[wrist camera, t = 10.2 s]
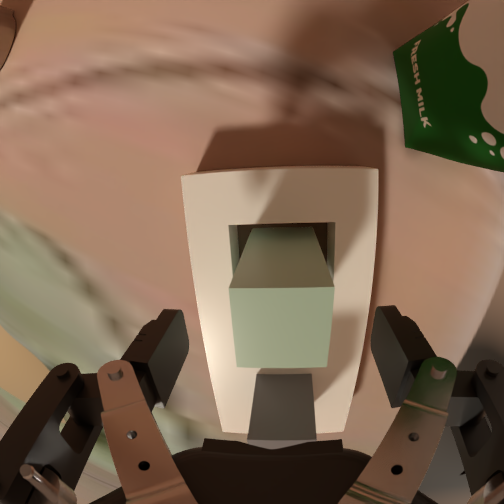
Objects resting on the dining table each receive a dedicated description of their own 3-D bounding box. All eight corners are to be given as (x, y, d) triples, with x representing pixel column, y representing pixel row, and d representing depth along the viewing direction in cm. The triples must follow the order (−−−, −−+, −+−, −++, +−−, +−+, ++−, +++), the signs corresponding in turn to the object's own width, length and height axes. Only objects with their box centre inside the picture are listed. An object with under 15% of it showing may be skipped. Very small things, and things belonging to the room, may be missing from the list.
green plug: (252, 227, 19) (228, 288, 11) (312, 226, 19) (334, 286, 11) (255, 282, 21) (236, 367, 12) (311, 282, 20) (326, 367, 12)
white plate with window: (195, 171, 19) (129, 190, 10) (363, 166, 17) (427, 180, 9) (227, 409, 26) (210, 484, 17) (339, 408, 24) (350, 485, 16)
